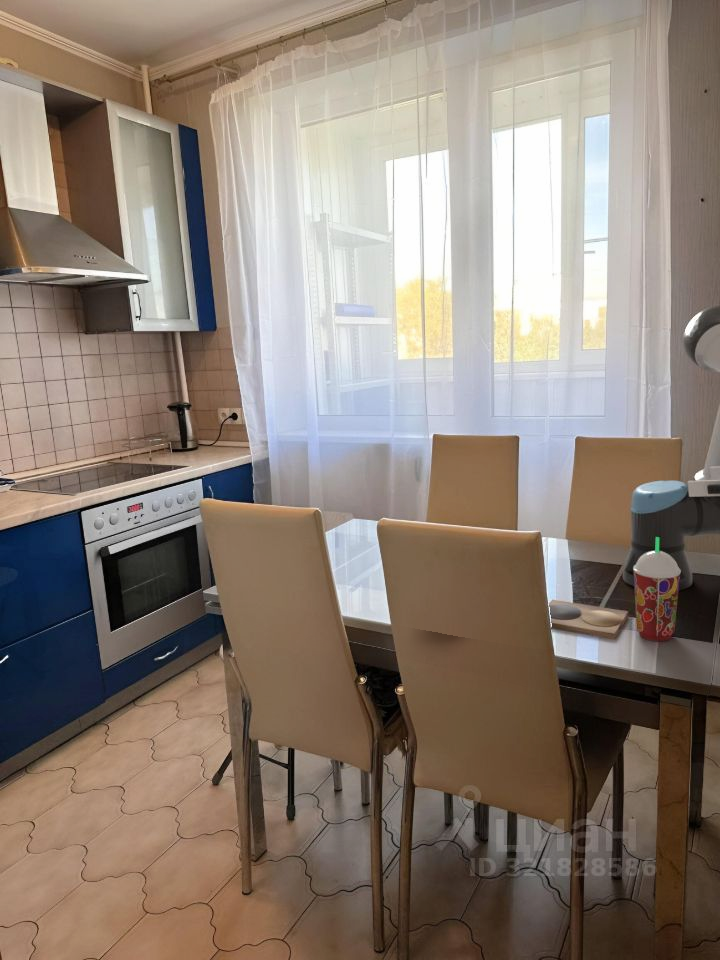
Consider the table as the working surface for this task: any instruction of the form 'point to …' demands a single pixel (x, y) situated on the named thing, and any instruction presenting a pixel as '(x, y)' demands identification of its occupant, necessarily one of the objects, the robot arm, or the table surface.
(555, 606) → the coaster board
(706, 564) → the table surface
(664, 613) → the smoothie
